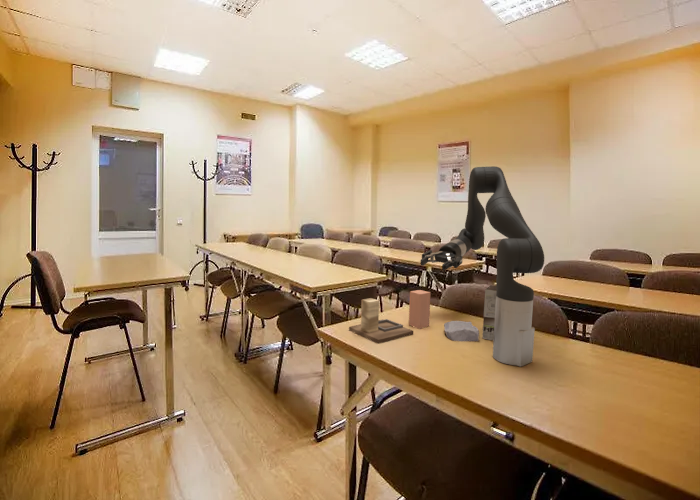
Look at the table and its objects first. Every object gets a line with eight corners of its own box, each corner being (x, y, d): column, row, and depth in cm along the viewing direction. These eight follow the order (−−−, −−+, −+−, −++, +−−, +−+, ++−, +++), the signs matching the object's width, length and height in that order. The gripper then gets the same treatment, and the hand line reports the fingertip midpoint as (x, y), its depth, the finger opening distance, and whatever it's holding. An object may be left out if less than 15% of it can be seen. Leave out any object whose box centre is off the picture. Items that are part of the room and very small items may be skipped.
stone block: (450, 347, 117) (482, 341, 116) (447, 332, 116) (479, 326, 116) (441, 335, 129) (470, 330, 128) (439, 322, 128) (468, 317, 128)
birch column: (378, 330, 122) (378, 300, 121) (368, 332, 119) (369, 302, 118) (370, 327, 125) (371, 298, 124) (360, 329, 123) (361, 299, 122)
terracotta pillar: (429, 326, 131) (430, 292, 130) (419, 328, 128) (420, 294, 127) (418, 322, 135) (419, 289, 134) (408, 324, 132) (409, 291, 131)
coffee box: (503, 342, 116) (506, 291, 114) (481, 338, 119) (484, 288, 117) (508, 334, 124) (511, 286, 122) (487, 331, 127) (490, 284, 125)
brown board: (413, 334, 122) (413, 330, 122) (378, 343, 114) (378, 339, 113) (382, 322, 134) (382, 319, 134) (349, 330, 126) (349, 326, 125)
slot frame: (403, 327, 126) (403, 325, 125) (384, 331, 121) (384, 329, 121) (386, 321, 132) (386, 319, 132) (368, 325, 127) (368, 323, 127)
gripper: (436, 239, 148) (414, 252, 137) (470, 245, 139) (450, 259, 128) (436, 256, 151) (415, 270, 140) (470, 263, 142) (450, 279, 131)
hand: (432, 265), depth 134 cm, fingers open, 8 cm apart
